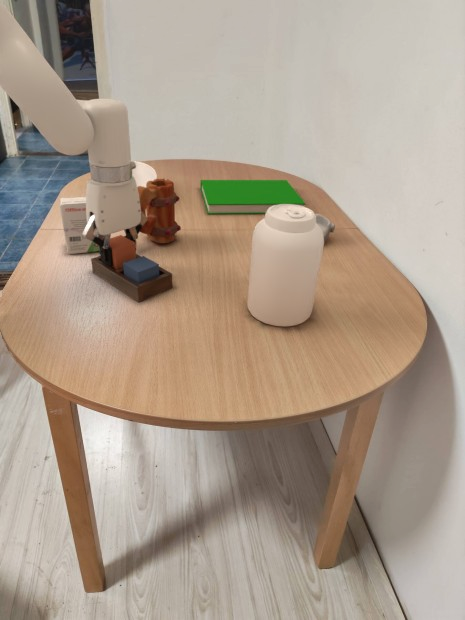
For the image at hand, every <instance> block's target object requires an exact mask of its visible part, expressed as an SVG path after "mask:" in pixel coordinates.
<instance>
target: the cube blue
mask: <svg viewBox="0 0 465 620" xmlns="http://www.w3.org/2000/svg"><path fill="white" fill-rule="evenodd" d="M159 267H160V264H159V263H157V262H155V261H153V260H152V259H150V258H148V257H147V256H145V255H142V256H141V257H139V258H136V259H133V260H131V261H128V262H125V263H123V269H124V276H126V277H128V278H129V279H131V280H133V281H134V282H136V283H137V284H140V283H143V282H145V281H148V280H150V279H153V278H155V277H158V276H159Z"/></svg>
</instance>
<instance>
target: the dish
mask: <svg viewBox="0 0 465 620" xmlns="http://www.w3.org/2000/svg"><path fill="white" fill-rule="evenodd" d="M315 216H316V223H317V225H318V226H319V227H320V228H321V229H322V232H323V237H324V243H325V242H326V241H327V240H328V238H329V235H330V233H334V232H335V228H336V224H335V223H331V220H330V219H329V218H327V217H326V216H324V215H322V214H320V213H315Z"/></svg>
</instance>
